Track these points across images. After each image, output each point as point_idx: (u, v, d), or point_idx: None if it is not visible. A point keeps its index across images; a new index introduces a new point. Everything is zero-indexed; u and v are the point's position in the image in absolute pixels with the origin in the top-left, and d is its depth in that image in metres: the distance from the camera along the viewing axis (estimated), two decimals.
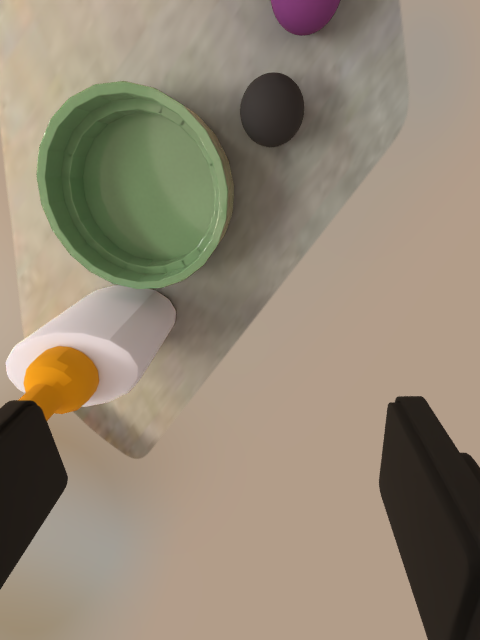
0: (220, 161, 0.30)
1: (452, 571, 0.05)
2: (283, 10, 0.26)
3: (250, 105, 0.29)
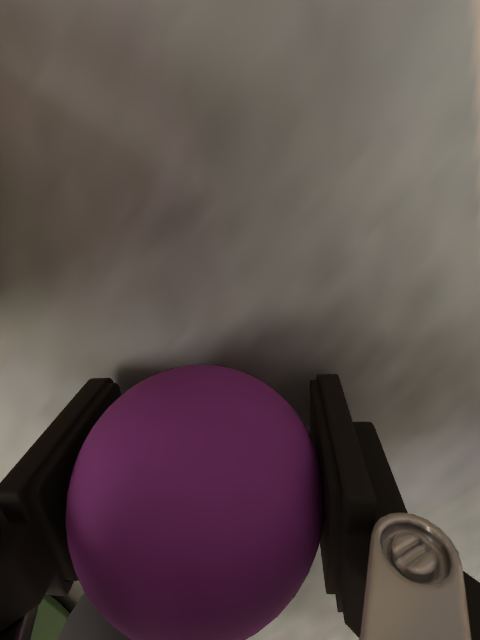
0: None
1: (327, 509, 0.06)
2: None
3: None
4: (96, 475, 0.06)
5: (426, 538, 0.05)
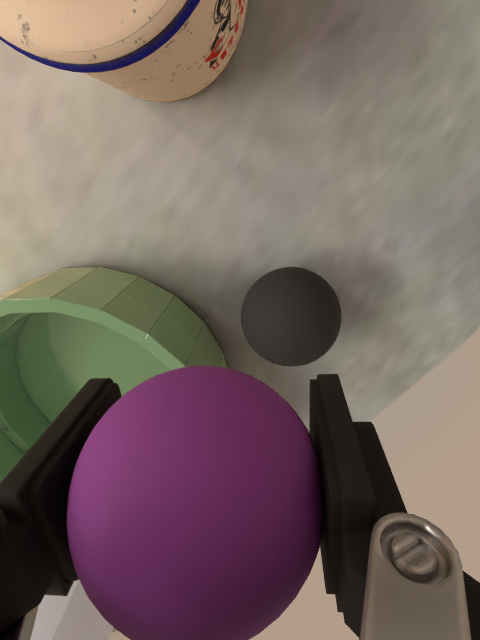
0: None
1: (327, 509, 0.06)
2: None
3: (257, 329, 0.18)
4: (97, 476, 0.06)
5: (426, 538, 0.05)
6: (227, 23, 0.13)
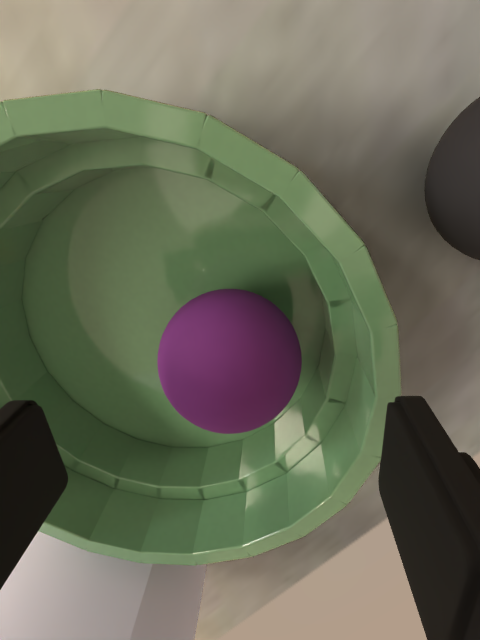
0: (395, 330, 0.10)
1: (451, 570, 0.05)
2: None
3: None
4: (181, 332, 0.12)
5: None
6: None
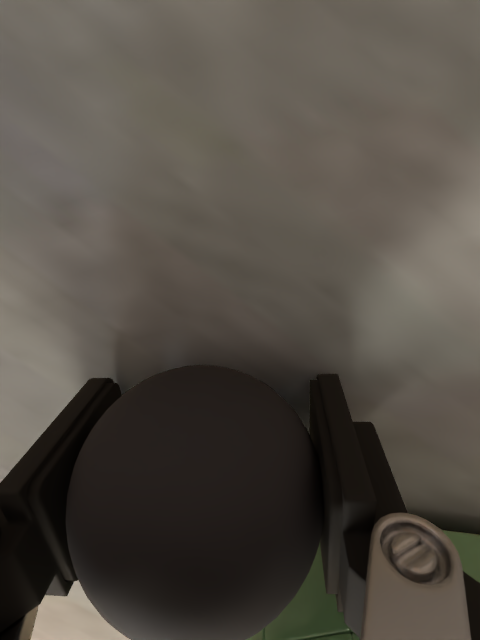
0: None
1: (327, 509, 0.06)
2: None
3: None
4: None
5: (426, 538, 0.05)
6: None
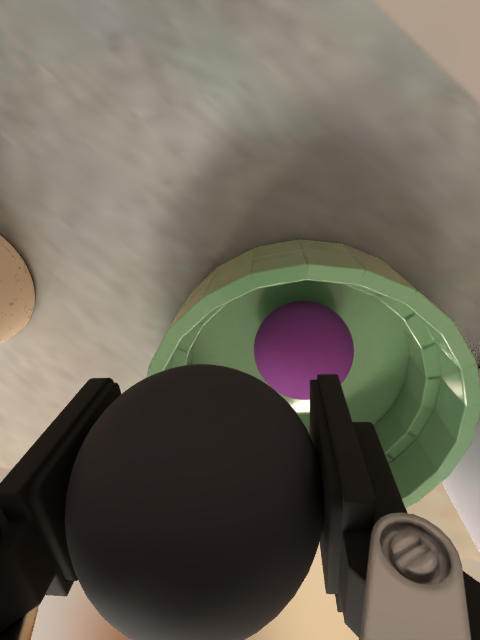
0: (255, 274, 0.15)
1: (327, 509, 0.06)
2: None
3: None
4: (269, 384, 0.19)
5: (426, 538, 0.05)
6: None
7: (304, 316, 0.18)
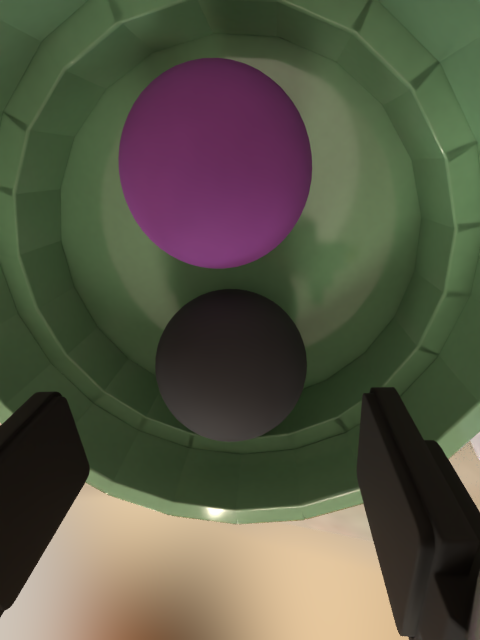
0: None
1: (409, 545, 0.06)
2: (273, 243, 0.10)
3: (219, 440, 0.12)
4: (147, 233, 0.10)
5: None
6: None
7: (198, 61, 0.08)
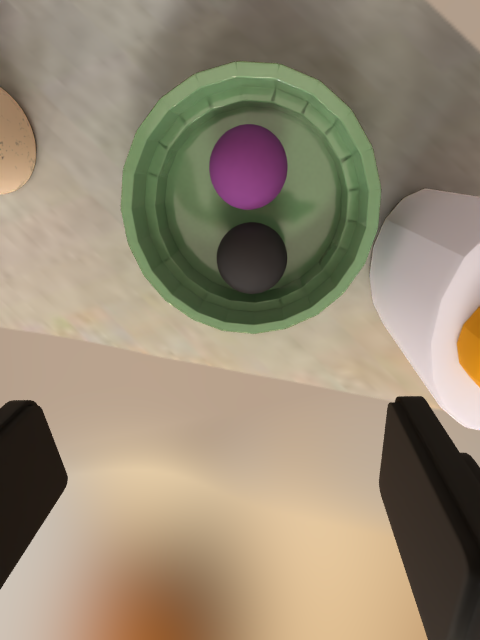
0: (198, 74, 0.20)
1: (452, 571, 0.05)
2: (272, 196, 0.24)
3: (247, 288, 0.26)
4: (221, 192, 0.24)
5: None
6: None
7: (244, 127, 0.23)
